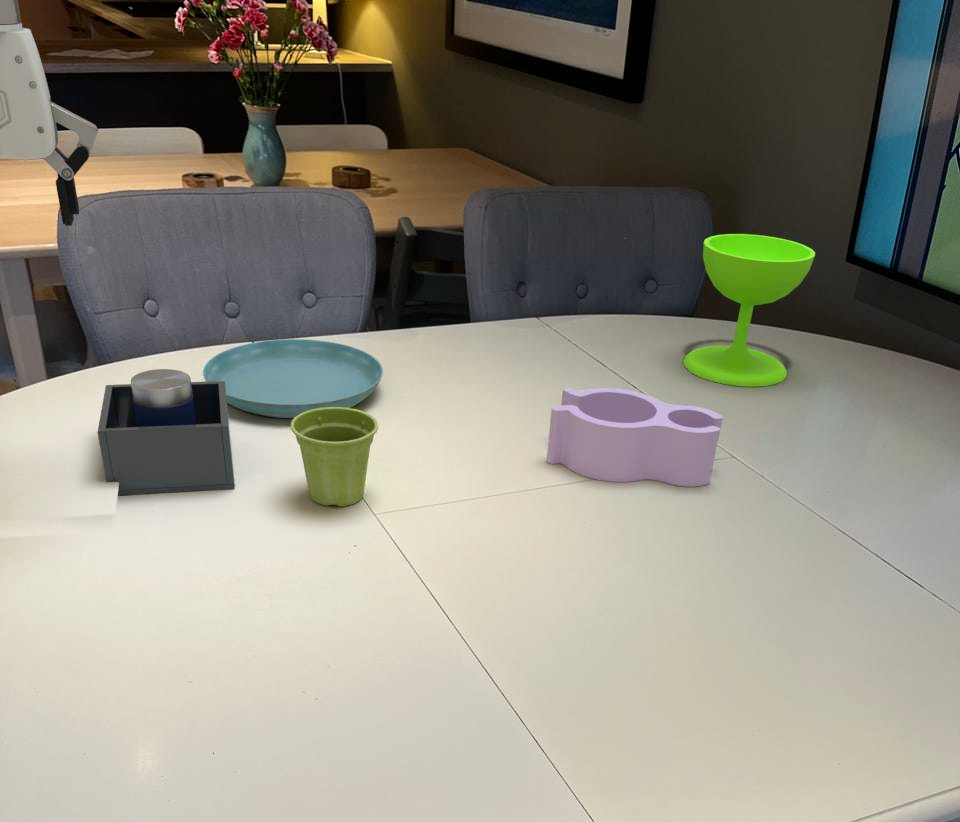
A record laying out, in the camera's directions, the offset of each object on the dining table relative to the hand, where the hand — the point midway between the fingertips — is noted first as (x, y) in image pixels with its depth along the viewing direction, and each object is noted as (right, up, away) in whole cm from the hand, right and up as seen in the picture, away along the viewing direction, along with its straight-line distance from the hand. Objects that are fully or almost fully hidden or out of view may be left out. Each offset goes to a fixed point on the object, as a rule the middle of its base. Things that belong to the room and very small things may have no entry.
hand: (14, 222), depth 94 cm
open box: (+8, -19, +23) cm, 31 cm away
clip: (+63, -18, +30) cm, 72 cm away
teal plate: (+18, -5, +44) cm, 48 cm away
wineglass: (+84, +3, +61) cm, 104 cm away
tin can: (+8, -19, +22) cm, 30 cm away
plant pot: (+28, -23, +19) cm, 41 cm away
